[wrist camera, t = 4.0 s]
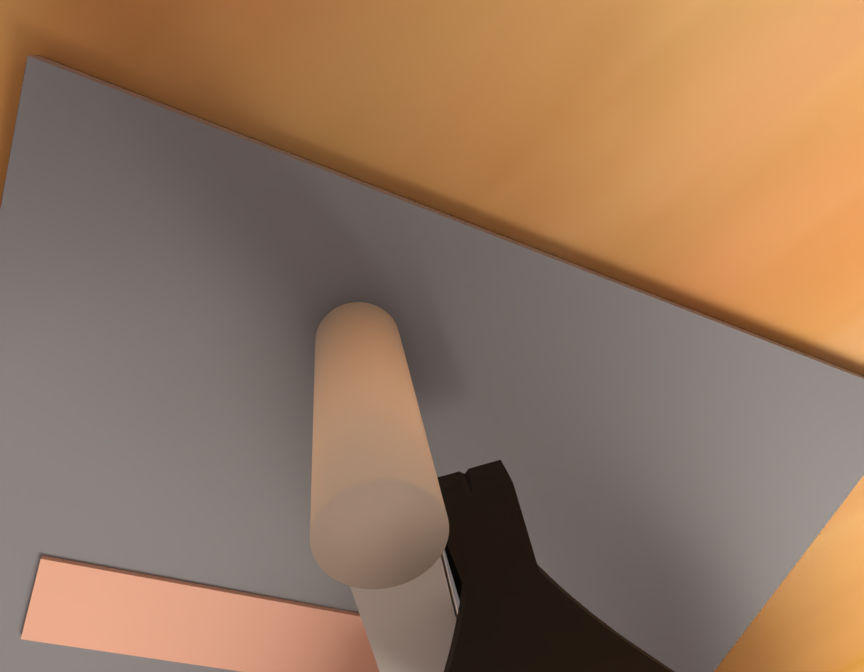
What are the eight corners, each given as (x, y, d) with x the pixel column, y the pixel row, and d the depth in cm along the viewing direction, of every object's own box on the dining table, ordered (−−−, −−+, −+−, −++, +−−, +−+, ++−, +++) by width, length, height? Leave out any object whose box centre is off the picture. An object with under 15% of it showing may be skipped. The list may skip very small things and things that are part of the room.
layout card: (526, 900, 23) (530, 917, 23) (-112, 868, 18) (-124, 890, 17) (906, 392, 16) (923, 402, 16) (37, 55, 10) (24, 55, 10)
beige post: (485, 691, 17) (551, 951, 12) (426, 707, 17) (469, 977, 12) (389, 292, 12) (435, 464, 7) (305, 313, 12) (293, 500, 7)
